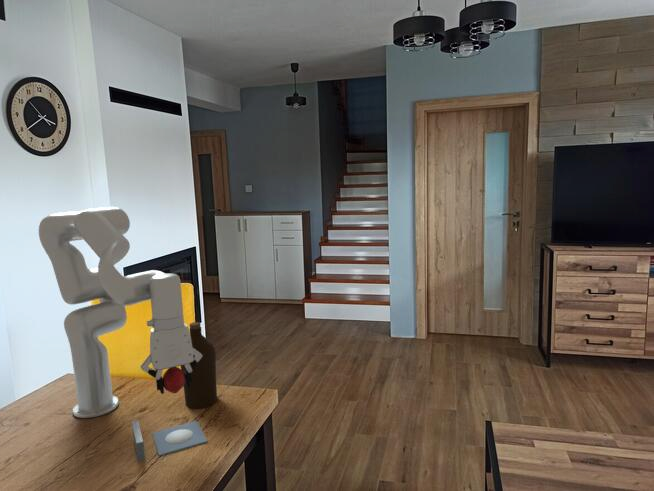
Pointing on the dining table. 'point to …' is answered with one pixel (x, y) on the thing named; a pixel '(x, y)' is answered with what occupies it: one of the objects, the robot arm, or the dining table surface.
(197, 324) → the olive oil
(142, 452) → the low wall
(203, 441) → the mat
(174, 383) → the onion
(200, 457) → the dining table surface
